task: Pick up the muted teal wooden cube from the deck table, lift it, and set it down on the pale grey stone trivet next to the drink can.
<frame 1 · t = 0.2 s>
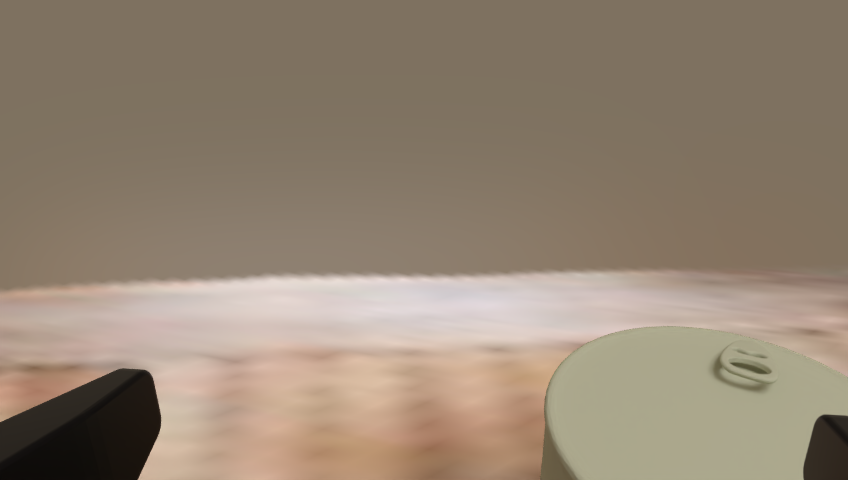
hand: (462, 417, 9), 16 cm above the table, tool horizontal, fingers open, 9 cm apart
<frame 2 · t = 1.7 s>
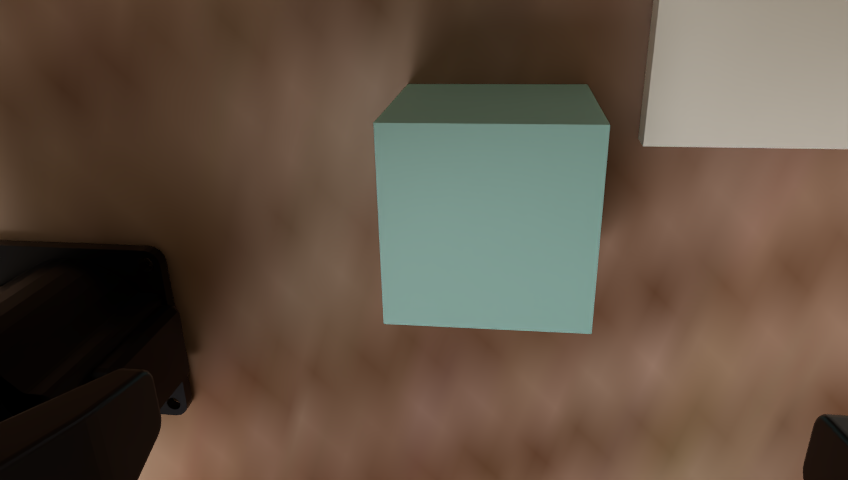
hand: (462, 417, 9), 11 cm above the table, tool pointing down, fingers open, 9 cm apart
cube: (494, 169, 20), on the table
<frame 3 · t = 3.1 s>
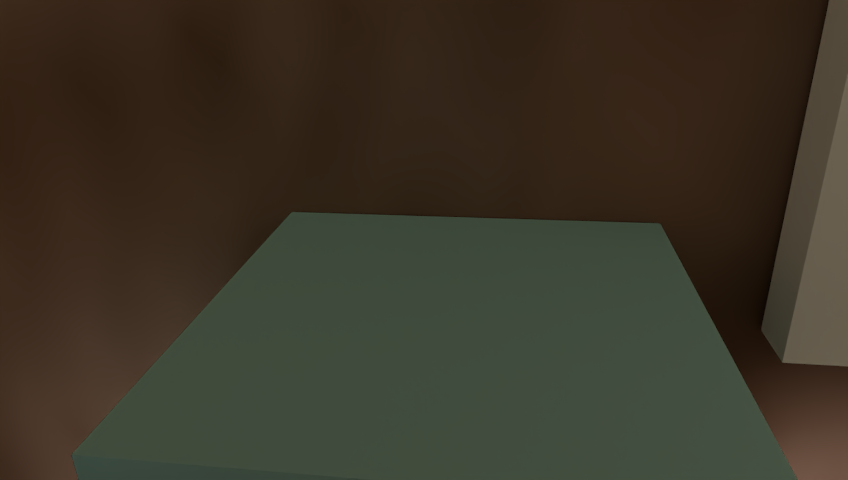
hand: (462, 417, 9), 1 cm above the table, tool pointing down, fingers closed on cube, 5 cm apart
cube: (467, 372, 10), on the table, touching gripper
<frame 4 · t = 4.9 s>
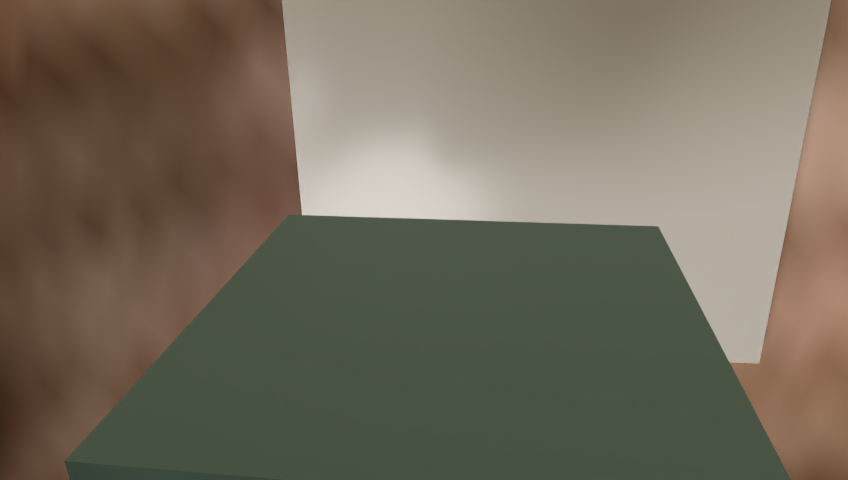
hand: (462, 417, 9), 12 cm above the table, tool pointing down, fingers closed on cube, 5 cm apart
trivet: (537, 131, 19), on the table
cube: (465, 375, 10), point 11 cm above the table, touching gripper
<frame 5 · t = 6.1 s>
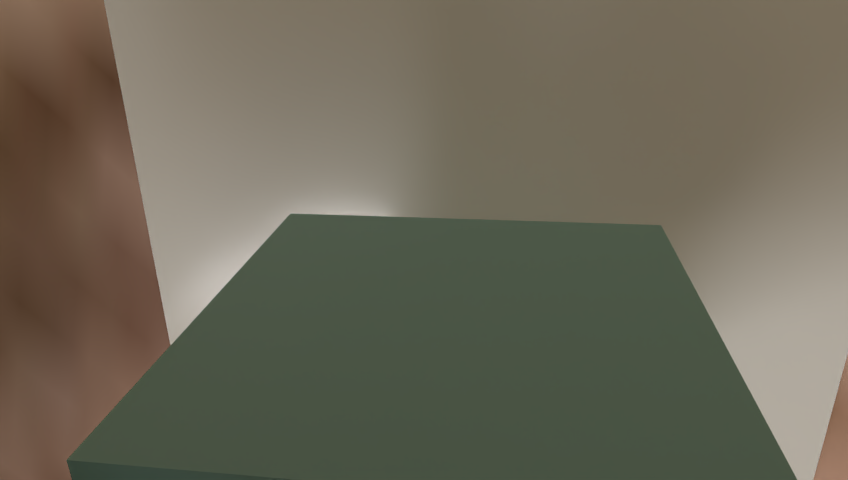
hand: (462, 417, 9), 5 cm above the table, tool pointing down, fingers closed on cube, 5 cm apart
trivet: (486, 254, 14), on the table
cube: (467, 374, 10), point 4 cm above the table, touching gripper
when the fingers open (3 cm above the table, at t = 6.9 s): cube drops 2 cm, resting on trivet.
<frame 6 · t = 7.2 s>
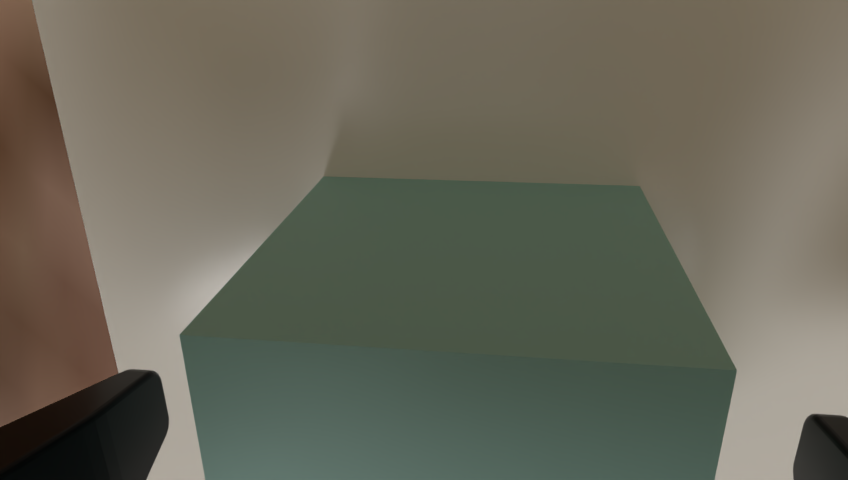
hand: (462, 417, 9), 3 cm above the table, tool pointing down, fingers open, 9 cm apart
trivet: (478, 296, 12), on the table
cube: (473, 318, 11), point 1 cm above the table, touching trivet
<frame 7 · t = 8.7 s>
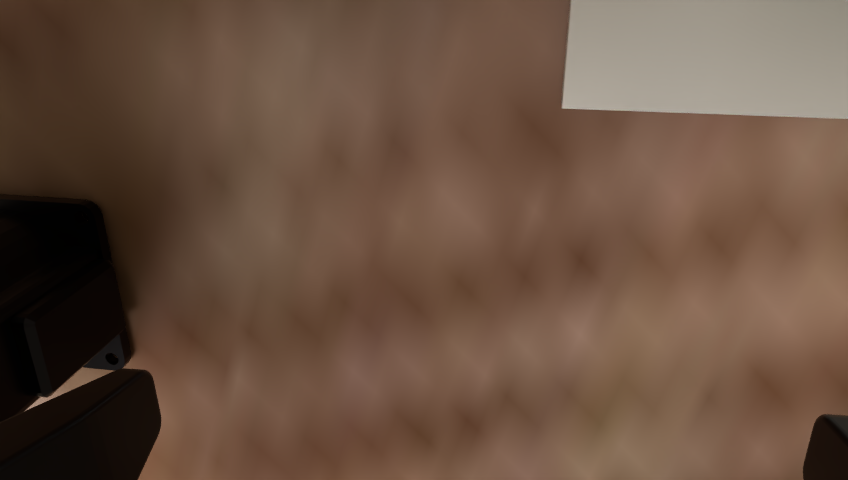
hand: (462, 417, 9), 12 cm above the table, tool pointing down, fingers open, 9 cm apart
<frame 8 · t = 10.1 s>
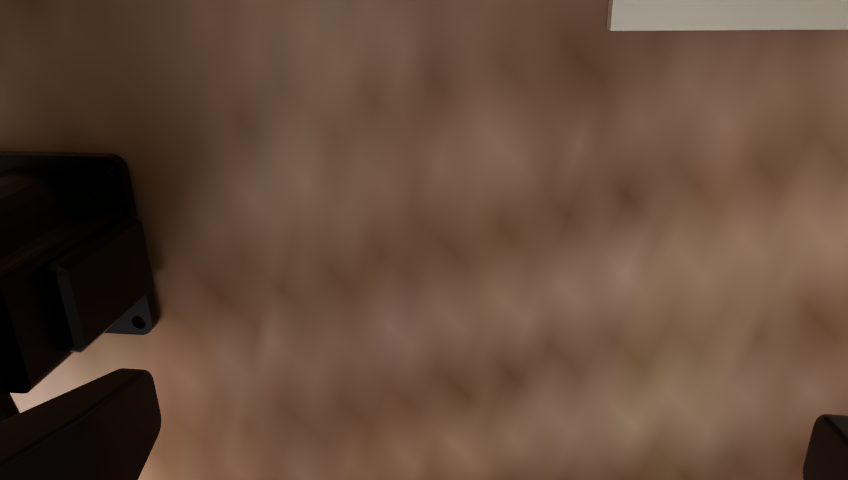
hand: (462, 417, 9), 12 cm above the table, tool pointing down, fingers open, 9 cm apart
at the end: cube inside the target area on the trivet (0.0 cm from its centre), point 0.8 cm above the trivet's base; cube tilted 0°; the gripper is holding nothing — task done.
